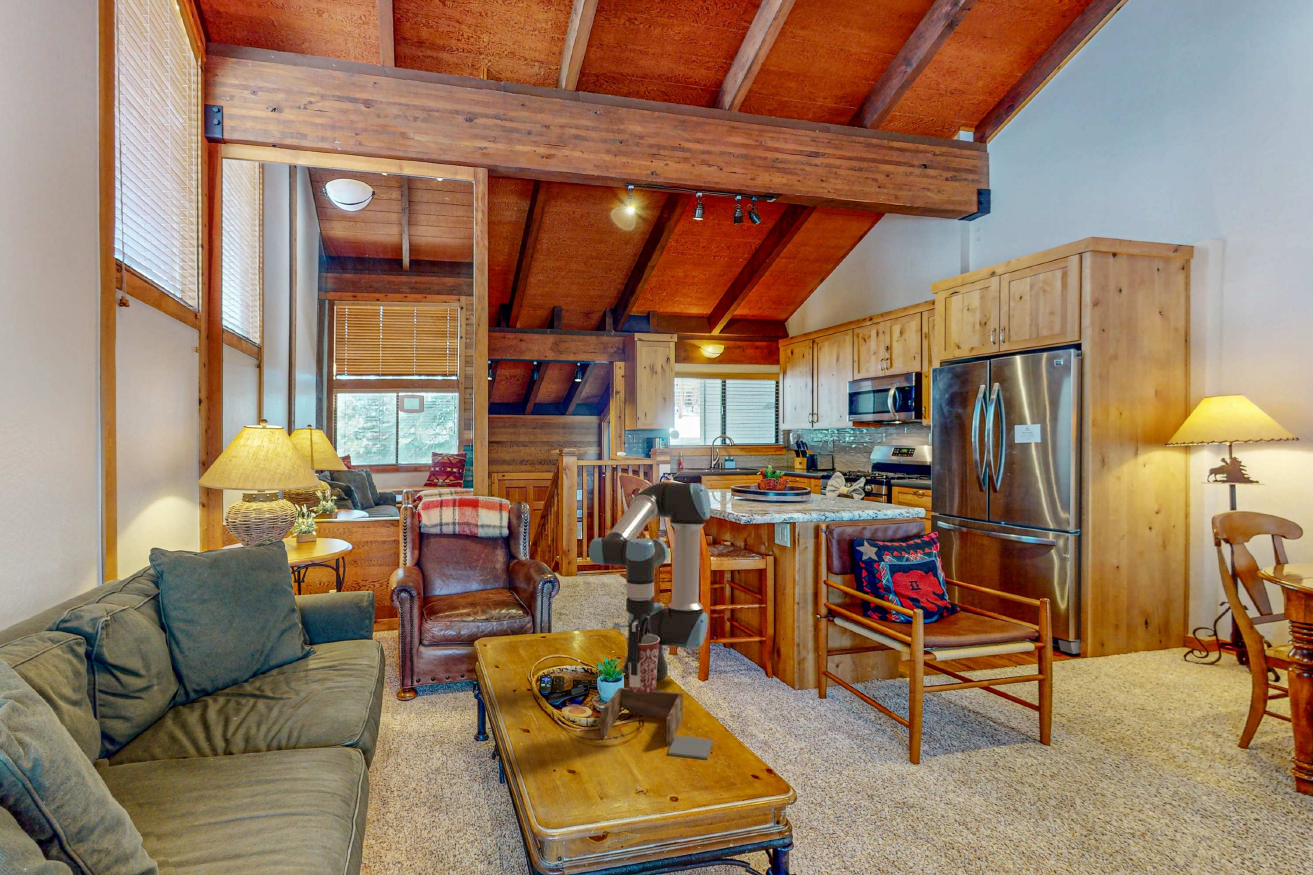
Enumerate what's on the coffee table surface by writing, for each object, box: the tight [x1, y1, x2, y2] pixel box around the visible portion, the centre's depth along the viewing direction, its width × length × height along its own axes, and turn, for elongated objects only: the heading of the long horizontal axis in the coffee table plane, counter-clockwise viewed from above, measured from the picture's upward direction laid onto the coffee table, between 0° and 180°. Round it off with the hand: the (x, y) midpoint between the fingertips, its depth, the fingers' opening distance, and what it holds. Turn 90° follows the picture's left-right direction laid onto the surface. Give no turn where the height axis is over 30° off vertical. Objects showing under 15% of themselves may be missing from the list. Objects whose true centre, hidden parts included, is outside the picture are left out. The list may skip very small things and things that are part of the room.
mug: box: [626, 634, 660, 693], centre depth 186 cm, size 13×9×14 cm
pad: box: [667, 735, 714, 760], centre depth 177 cm, size 10×10×1 cm
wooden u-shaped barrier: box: [599, 687, 684, 747], centre depth 189 cm, size 18×19×7 cm
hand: (639, 678), depth 185 cm, fingers closed on mug, 10 cm apart
